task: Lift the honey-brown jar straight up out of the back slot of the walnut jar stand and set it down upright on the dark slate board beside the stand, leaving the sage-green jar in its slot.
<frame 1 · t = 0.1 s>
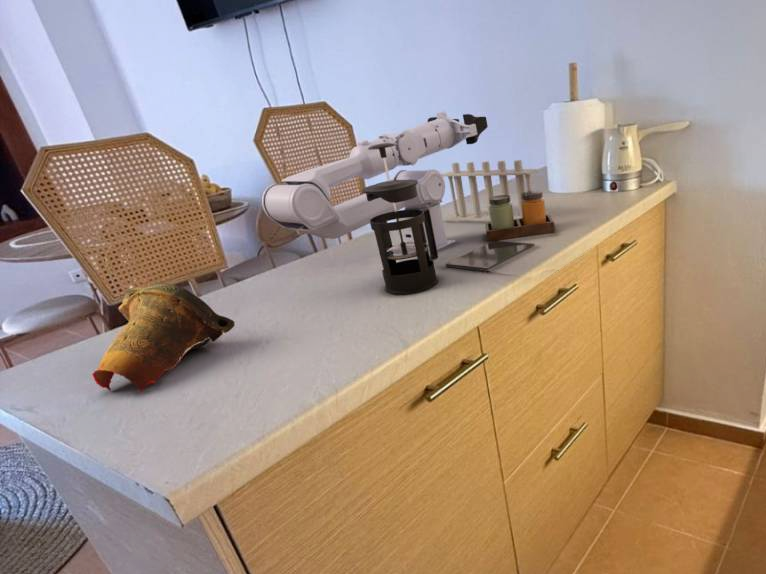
hand: (472, 123, 120), 22 cm above the worktop, tool horizontal, fingers open, 7 cm apart
slate board: (491, 257, 106), on the worktop
sage jar: (504, 235, 117), resting on jar stand
french press: (414, 285, 97), on the worktop
test tube rack: (493, 221, 132), on the worktop
jar stand: (520, 235, 117), on the worktop
pot: (174, 359, 81), on the worktop
honey jar: (535, 230, 117), resting on jar stand
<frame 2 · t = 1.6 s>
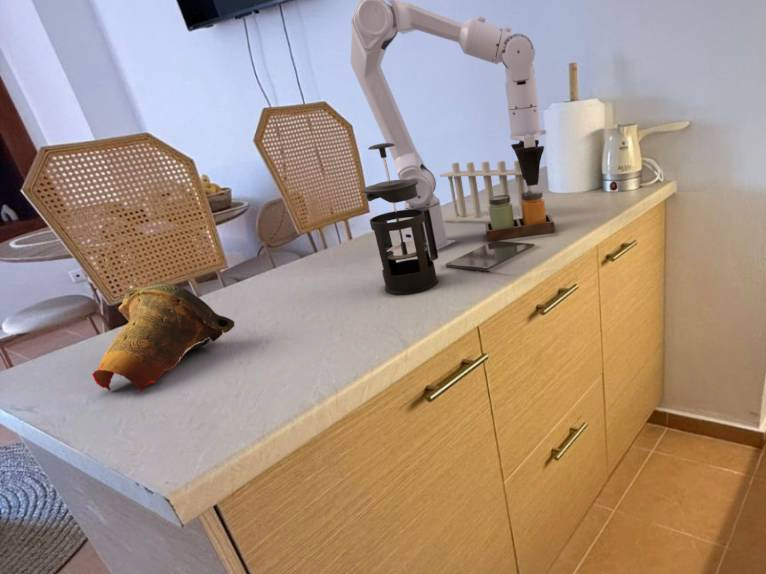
hand: (530, 182, 112), 10 cm above the worktop, tool pointing down, fingers open, 7 cm apart
nothing on the worktop moved.
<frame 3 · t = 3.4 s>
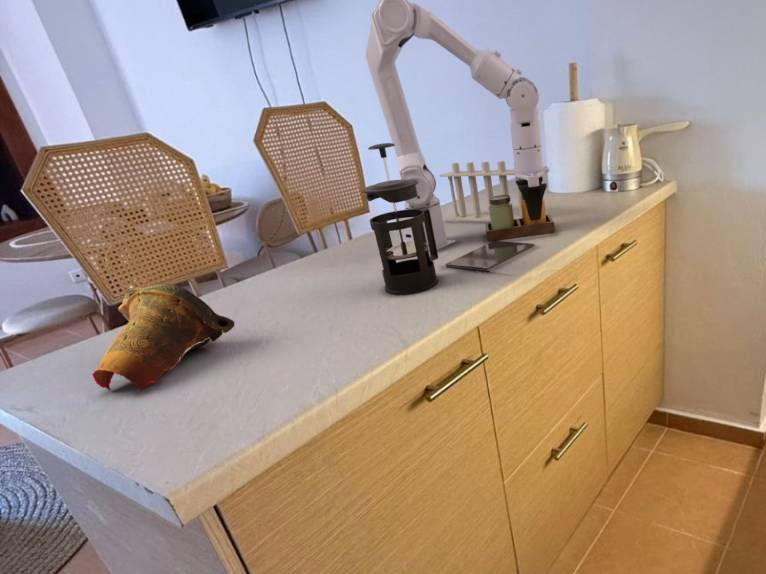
hand: (534, 216, 116), 3 cm above the worktop, tool pointing down, fingers closed on honey jar, 5 cm apart
honey jar: (535, 230, 117), point 1 cm above the worktop, touching gripper, jar stand
everything else where it was.
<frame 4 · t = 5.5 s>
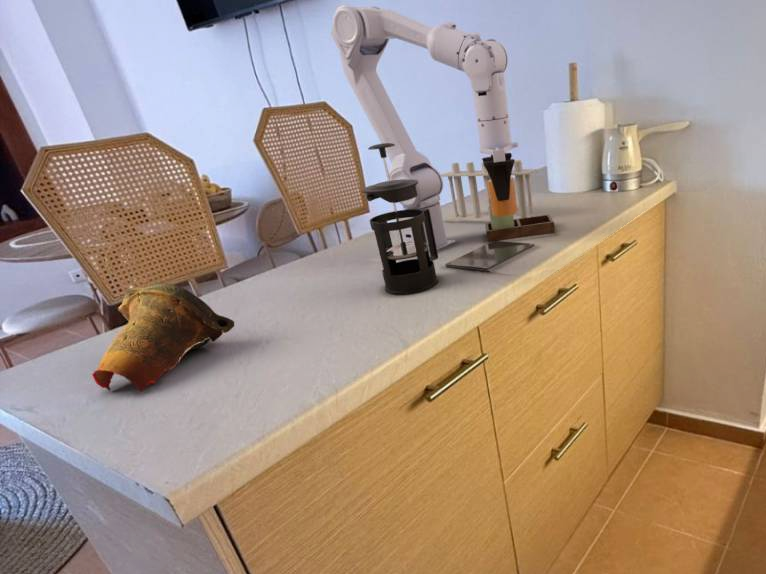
hand: (502, 197, 105), 10 cm above the worktop, tool pointing down, fingers closed on honey jar, 5 cm apart
honey jar: (504, 212, 107), point 7 cm above the worktop, touching gripper
everything else where it was.
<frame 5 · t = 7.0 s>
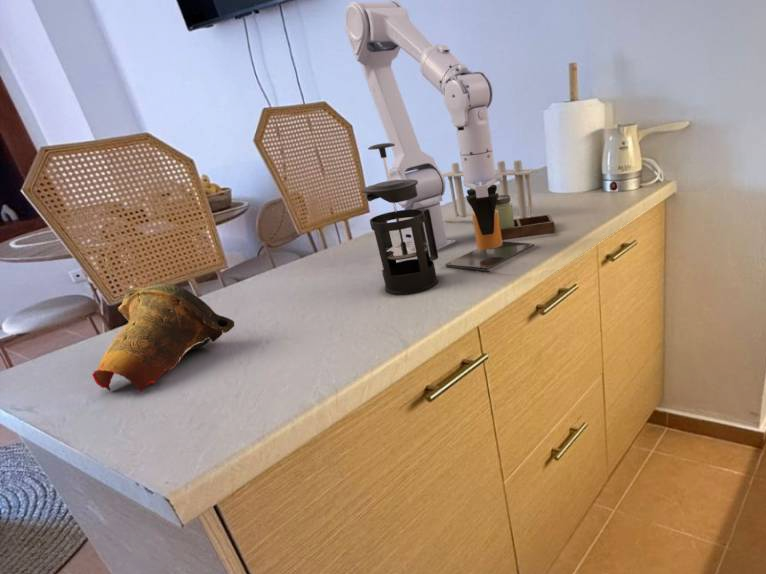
hand: (487, 230, 103), 5 cm above the worktop, tool pointing down, fingers closed on honey jar, 5 cm apart
honey jar: (489, 245, 104), point 2 cm above the worktop, touching gripper
everything else where it was.
when the fingers open (4 cm above the worktop, at t = 8.0 s): honey jar stays where it is, resting on slate board.
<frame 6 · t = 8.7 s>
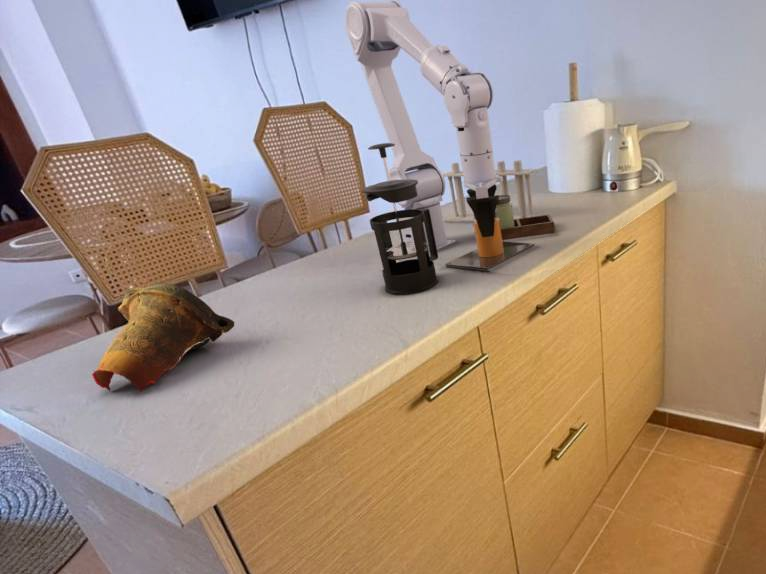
hand: (487, 231, 103), 5 cm above the worktop, tool pointing down, fingers open, 7 cm apart
honey jar: (491, 253, 105), point 1 cm above the worktop, touching slate board
everything else where it was.
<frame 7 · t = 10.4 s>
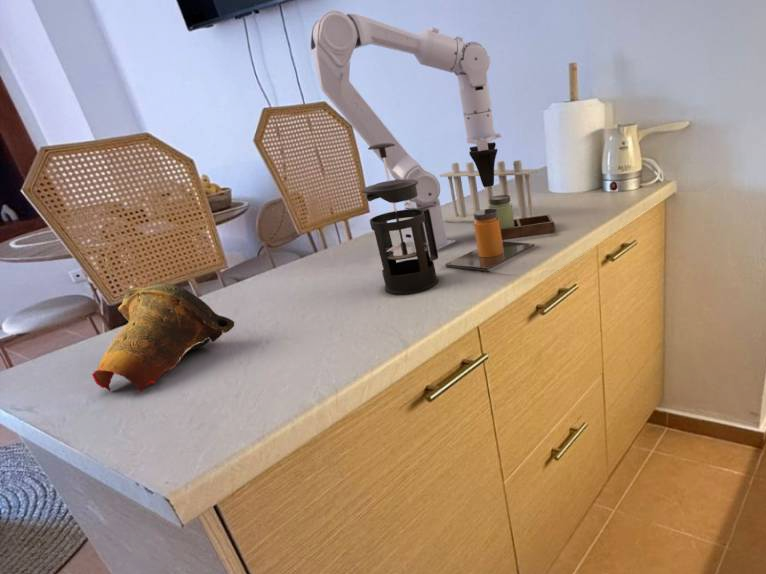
hand: (488, 183, 117), 10 cm above the worktop, tool pointing down, fingers open, 7 cm apart
nothing on the worktop moved.
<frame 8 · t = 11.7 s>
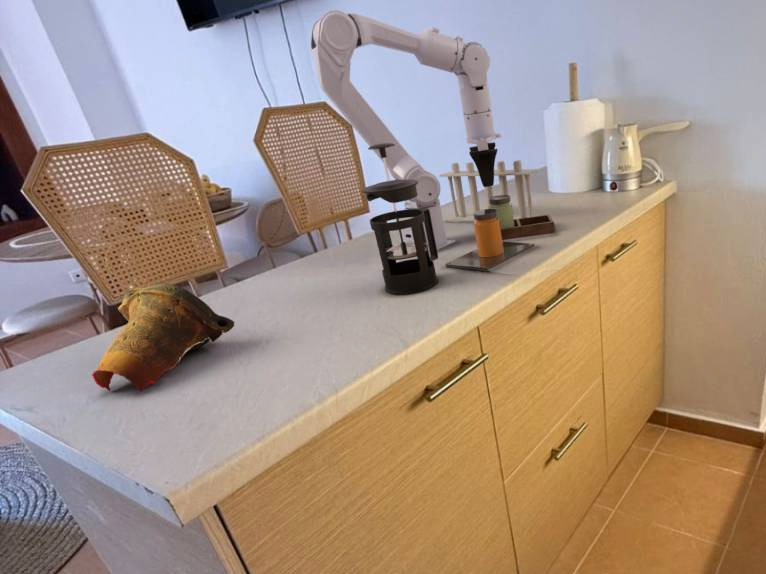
hand: (487, 183, 117), 10 cm above the worktop, tool pointing down, fingers open, 7 cm apart
nothing on the worktop moved.
at the end: honey jar inside the target area on the slate board (0.1 cm from its centre), point 0.8 cm above the slate board's base; honey jar tilted 0°; sage jar moved 0.0 cm from its start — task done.
